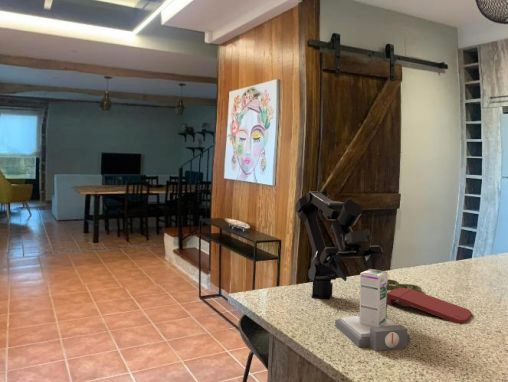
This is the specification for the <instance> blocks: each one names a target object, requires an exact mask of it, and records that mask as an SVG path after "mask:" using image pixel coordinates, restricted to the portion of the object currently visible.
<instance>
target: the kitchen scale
mask: <svg viewBox="0 0 508 382" xmlns="http://www.w3.org/2000/svg"><path fill="white" fill-rule="evenodd" d="M334 321H335V325H334V327H335V328H336V329H337V330H338V331H340V332H341V333H342V334H343V335H344V336H346V337H347V338H348V339H349V340H350V341H351V342H353V344H354V345H356V346H357V347H358V348H363V347H370V348H371V349H372V350H373V351H374V352H380V351H389V350H398V349H399V350H401V349H407V345H408V344H407V343H410V342H411V334H410V333H408V328H407V327H405V326H403V324H397V323H395V322H393V321H392V320H390V319H389V318H387V322H386V323H384V324H383V325H382V326H379V327H371V326H368V325H364V324H361V323H360V322H359V315H355V316H341V317H340V318H339V319H335V320H334Z"/></svg>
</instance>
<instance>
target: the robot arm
mask: <svg viewBox="0 0 508 382" xmlns="http://www.w3.org/2000/svg"><path fill="white" fill-rule="evenodd" d="M294 209H295V212H296V213H297V216H298V218H299V220H300V221H302V222H303V223H304V225H305V228H306V232H307V235H308V239H309V243H310V247H311V250H312V255H313V258H312V260H311V266H310V268H309V270H308V272H307V273H308V274H307V275H308V278H309V280H311V281H312V291H311V292H312V293H311V298H316V299H324V300H330V299H331V297H332V296H333V287H334V285H333V282H332V281H333V280H334V281H336V279H337V277H338V276H339V278H341V279H342V280H343V281H345V282H347V280H348V277H347V274H346V271H345V269H344V266H343V263H342V259H343V258H345V259H346V258H347V259H348V258H349V259H350V258H351V259H352V258H356V259H357V258H362V259H363V261H364V266H365V268H366V269H367V270H368V269H374V270H376V264H377V261H378V260H379V258H380V257H382V255H383V253H384V251H383V248H382V246H380V245H367V247H366V249H364V250H360V249H362V248H363V244H364V243H367V242H368V241H369V240H371V239H372V235H371V232H370V230H369V229H362V230H360V231H359V230H358V231H357V230H356V231H353V229H352V227H353V226H354V225H356V223H357V222H358V220H359V218H360V216H361V215H362V213H363V208H362V206H360V204H358V203H357V202H354V200H353V199H351V198H350V199H349V198H346V199H345V201H344V202H342V201H335V200H332V199H330V198H329V197H328V196H326V195H324V194H323V193H322V192H321V191H316V190H315V191H307V192H306V194H305V195H304V196H301V197H300V198H298V200H297V202H296V203H295V208H294ZM320 210H321V211H322V216H323V217H324V219H325V220H326V221H332V223H331V224H330V229H329V232H331V233H333V235H334V238H335V241H336V242H335V246H326V243H325V241H324V238H323V234H322V231H321V228H320V224H319V220H318V215H319V213H320ZM367 270H366V271H367ZM337 275H338V276H337Z"/></svg>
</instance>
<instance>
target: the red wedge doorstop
mask: <svg viewBox="0 0 508 382" xmlns="http://www.w3.org/2000/svg"><path fill="white" fill-rule="evenodd" d="M396 302H398V303H399V302H400V303H402V304H405V305H408V306H409V307H413V308H414V309H417V310H421V311H424V312H426V313H428V314H431V315H434V316H436V317H439V318H440V319H444V320H446V321H450V322H452V323H454V324H464V323H466V322H467V321H468V320H470V318H471V317H472V314H473V312H472V311H471V310H470V309H469V308H465V307H463V306H460V305H457V304H455V303H451V302H448V301H446V300H443V299H440V298H438V297H434V296H431V295H429V294H427V293H424V292H422V293H421V292H418V291H415V290H412V289H407V288H398V289H396V288H395V289H393V290H392V289H390V290H389V291H387V306H391V305H392V304H395V303H396Z"/></svg>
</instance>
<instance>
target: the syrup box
mask: <svg viewBox="0 0 508 382" xmlns="http://www.w3.org/2000/svg"><path fill="white" fill-rule="evenodd" d="M359 275H360V277H359V279H360V280H359V315H358V316H359V322H360V323H361V324H364V325H368V326H371V327H379V326H382V325H383V324H384V323H386V322H387V319H388V316H387V315H388V313H387V312H388V305H387V293H388V289H387V283H388V280H389V279H388V277H389V273H388V271H384V270H380V269H375V270H374V269H368V270H365V271H362V272H360V274H359Z"/></svg>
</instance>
